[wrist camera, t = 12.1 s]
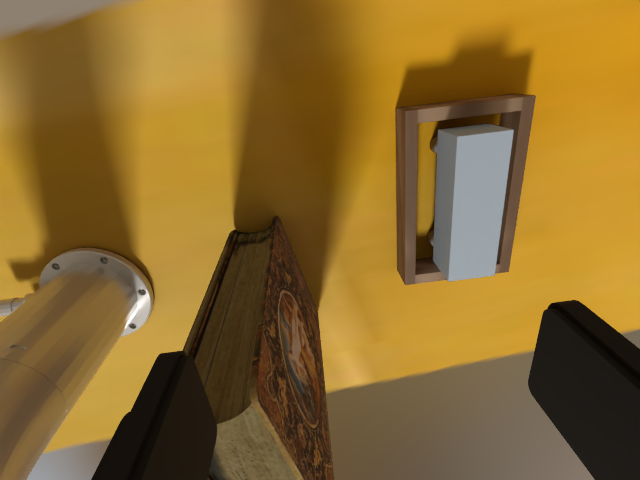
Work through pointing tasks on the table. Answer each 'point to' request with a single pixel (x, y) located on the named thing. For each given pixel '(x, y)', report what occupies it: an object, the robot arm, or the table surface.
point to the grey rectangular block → (470, 199)
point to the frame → (513, 116)
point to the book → (262, 363)
